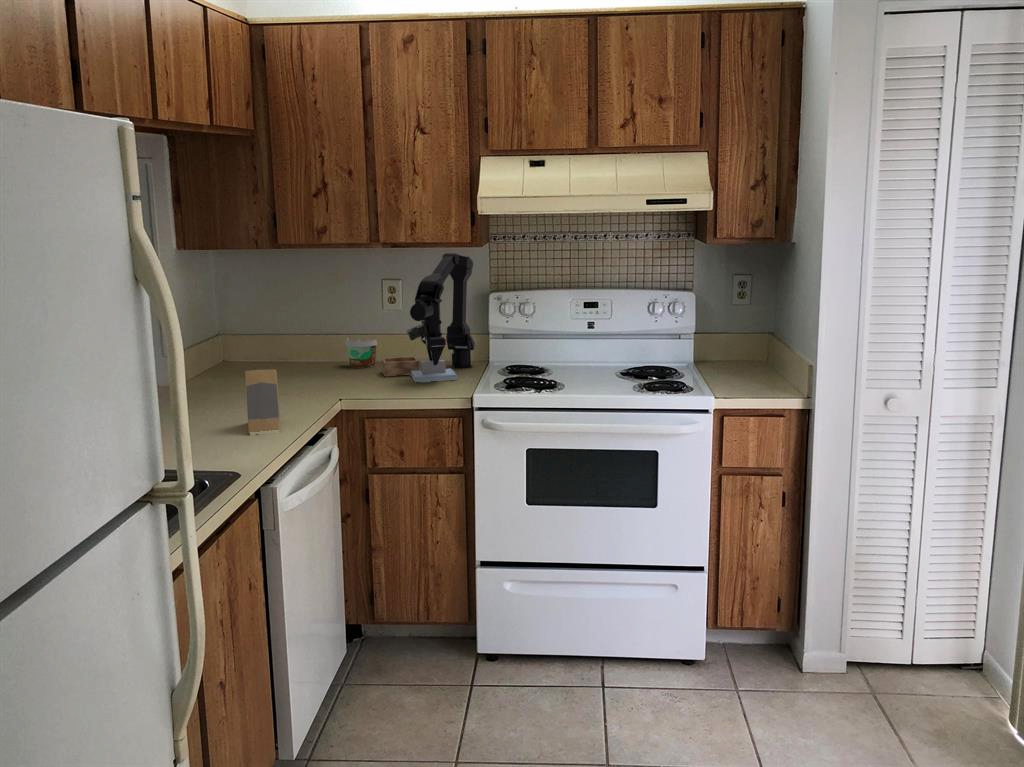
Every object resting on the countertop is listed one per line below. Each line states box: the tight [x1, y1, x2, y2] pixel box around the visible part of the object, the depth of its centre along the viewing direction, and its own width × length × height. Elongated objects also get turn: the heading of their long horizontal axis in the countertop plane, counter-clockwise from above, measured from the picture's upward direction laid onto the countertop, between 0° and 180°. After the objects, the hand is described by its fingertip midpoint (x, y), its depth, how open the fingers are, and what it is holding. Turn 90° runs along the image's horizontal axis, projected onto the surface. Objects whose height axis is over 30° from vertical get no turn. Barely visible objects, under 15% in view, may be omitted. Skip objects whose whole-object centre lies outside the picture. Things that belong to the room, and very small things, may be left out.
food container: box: [345, 338, 379, 369], centre depth 337 cm, size 12×6×10 cm, turn 73°
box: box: [381, 355, 420, 377], centre depth 324 cm, size 12×9×5 cm
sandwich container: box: [244, 368, 281, 433], centre depth 252 cm, size 9×15×15 cm, turn 15°
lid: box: [410, 359, 458, 384], centre depth 315 cm, size 14×11×6 cm
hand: (433, 362), depth 314 cm, fingers open, 9 cm apart
